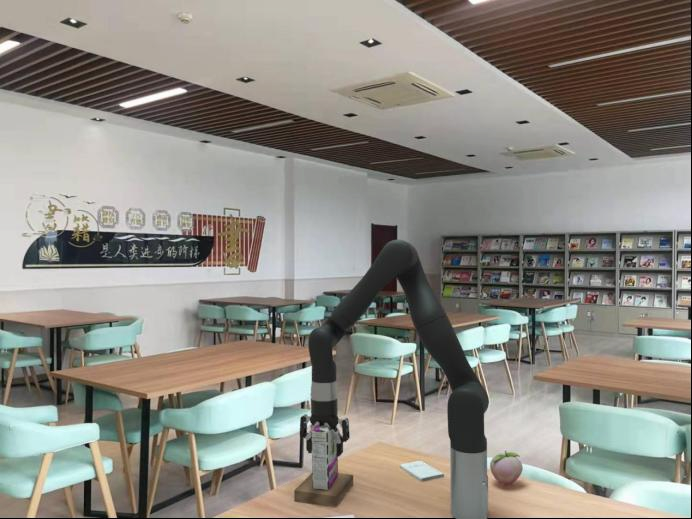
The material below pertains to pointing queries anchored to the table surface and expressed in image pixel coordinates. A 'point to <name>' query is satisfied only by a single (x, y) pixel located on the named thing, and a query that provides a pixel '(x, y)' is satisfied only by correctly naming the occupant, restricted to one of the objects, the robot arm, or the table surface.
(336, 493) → the block
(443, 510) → the table surface
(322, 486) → the candy bar box
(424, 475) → the external hard drive
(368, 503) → the table surface
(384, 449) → the table surface
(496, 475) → the decorative fruit
